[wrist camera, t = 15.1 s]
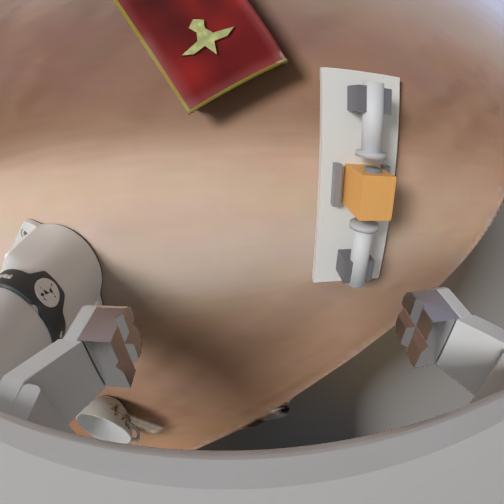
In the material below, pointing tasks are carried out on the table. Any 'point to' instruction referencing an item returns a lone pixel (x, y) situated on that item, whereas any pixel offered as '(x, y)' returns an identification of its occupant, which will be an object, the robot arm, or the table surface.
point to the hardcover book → (203, 44)
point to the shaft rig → (352, 152)
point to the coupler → (368, 192)
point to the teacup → (107, 420)
